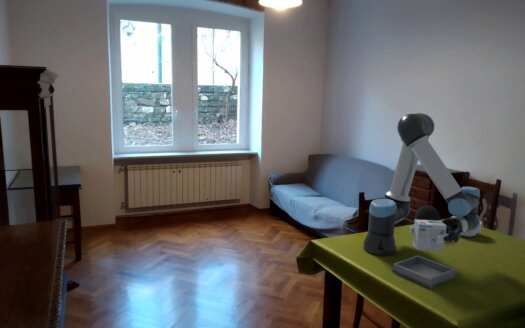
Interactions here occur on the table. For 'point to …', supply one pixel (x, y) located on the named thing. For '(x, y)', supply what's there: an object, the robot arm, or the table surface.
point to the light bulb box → (428, 235)
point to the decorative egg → (427, 213)
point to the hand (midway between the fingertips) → (423, 235)
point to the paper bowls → (473, 231)
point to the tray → (424, 271)
